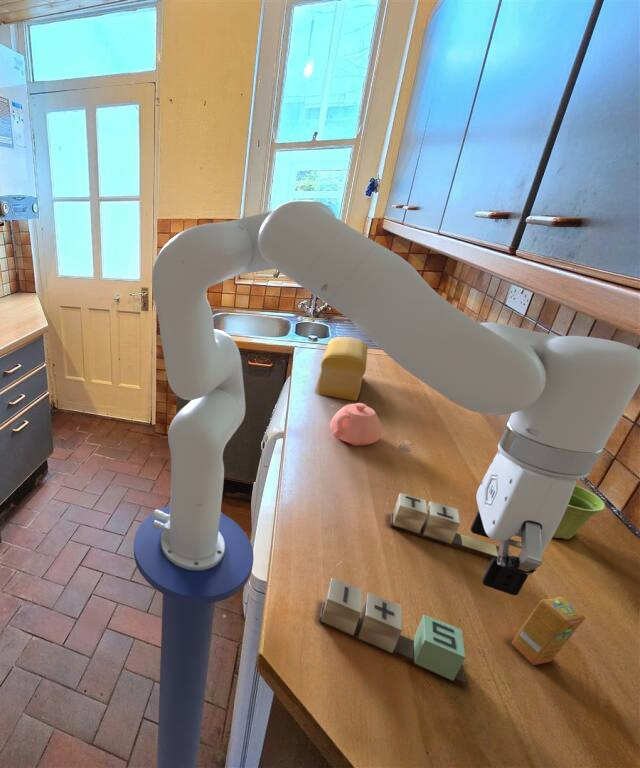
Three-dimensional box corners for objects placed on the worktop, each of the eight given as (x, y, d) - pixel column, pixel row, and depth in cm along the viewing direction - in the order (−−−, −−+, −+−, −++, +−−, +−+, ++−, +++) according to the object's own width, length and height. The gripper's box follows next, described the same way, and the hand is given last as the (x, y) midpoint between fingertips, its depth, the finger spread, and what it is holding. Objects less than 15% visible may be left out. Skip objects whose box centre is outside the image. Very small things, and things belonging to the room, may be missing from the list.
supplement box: (534, 668, 57) (566, 620, 52) (510, 643, 60) (537, 597, 56) (554, 663, 57) (587, 616, 53) (529, 640, 60) (558, 593, 56)
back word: (389, 528, 81) (397, 504, 78) (390, 514, 84) (398, 491, 82) (507, 566, 72) (520, 541, 70) (502, 549, 76) (515, 524, 73)
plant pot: (527, 505, 86) (544, 472, 83) (589, 533, 79) (611, 497, 75) (511, 523, 82) (528, 489, 78) (576, 554, 74) (598, 518, 71)
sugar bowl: (388, 443, 108) (399, 410, 104) (350, 455, 104) (359, 421, 99) (350, 422, 119) (357, 391, 115) (313, 432, 114) (320, 400, 110)
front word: (318, 624, 63) (325, 597, 60) (322, 602, 66) (329, 576, 64) (463, 691, 54) (478, 662, 52) (459, 661, 57) (474, 633, 55)
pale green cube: (414, 663, 56) (425, 639, 54) (413, 636, 60) (423, 613, 58) (453, 681, 54) (466, 657, 52) (450, 652, 58) (462, 629, 56)
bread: (323, 369, 156) (330, 332, 150) (360, 375, 150) (370, 337, 144) (315, 393, 137) (323, 351, 131) (358, 401, 131) (368, 358, 125)
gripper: (489, 408, 54) (448, 509, 61) (520, 479, 40) (463, 598, 47) (566, 422, 50) (513, 528, 57) (629, 505, 37) (550, 630, 44)
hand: (491, 560), depth 52 cm, fingers open, 9 cm apart
